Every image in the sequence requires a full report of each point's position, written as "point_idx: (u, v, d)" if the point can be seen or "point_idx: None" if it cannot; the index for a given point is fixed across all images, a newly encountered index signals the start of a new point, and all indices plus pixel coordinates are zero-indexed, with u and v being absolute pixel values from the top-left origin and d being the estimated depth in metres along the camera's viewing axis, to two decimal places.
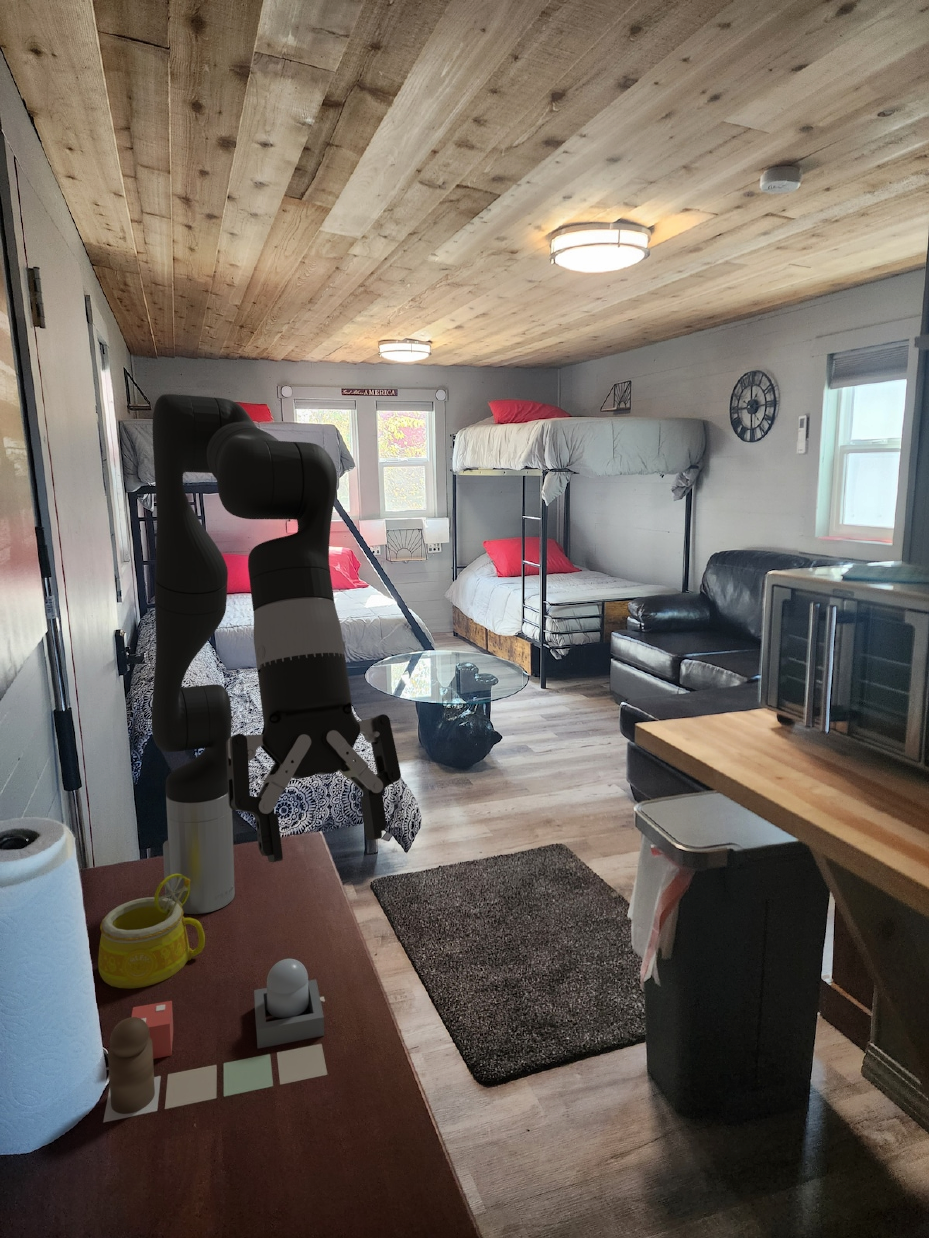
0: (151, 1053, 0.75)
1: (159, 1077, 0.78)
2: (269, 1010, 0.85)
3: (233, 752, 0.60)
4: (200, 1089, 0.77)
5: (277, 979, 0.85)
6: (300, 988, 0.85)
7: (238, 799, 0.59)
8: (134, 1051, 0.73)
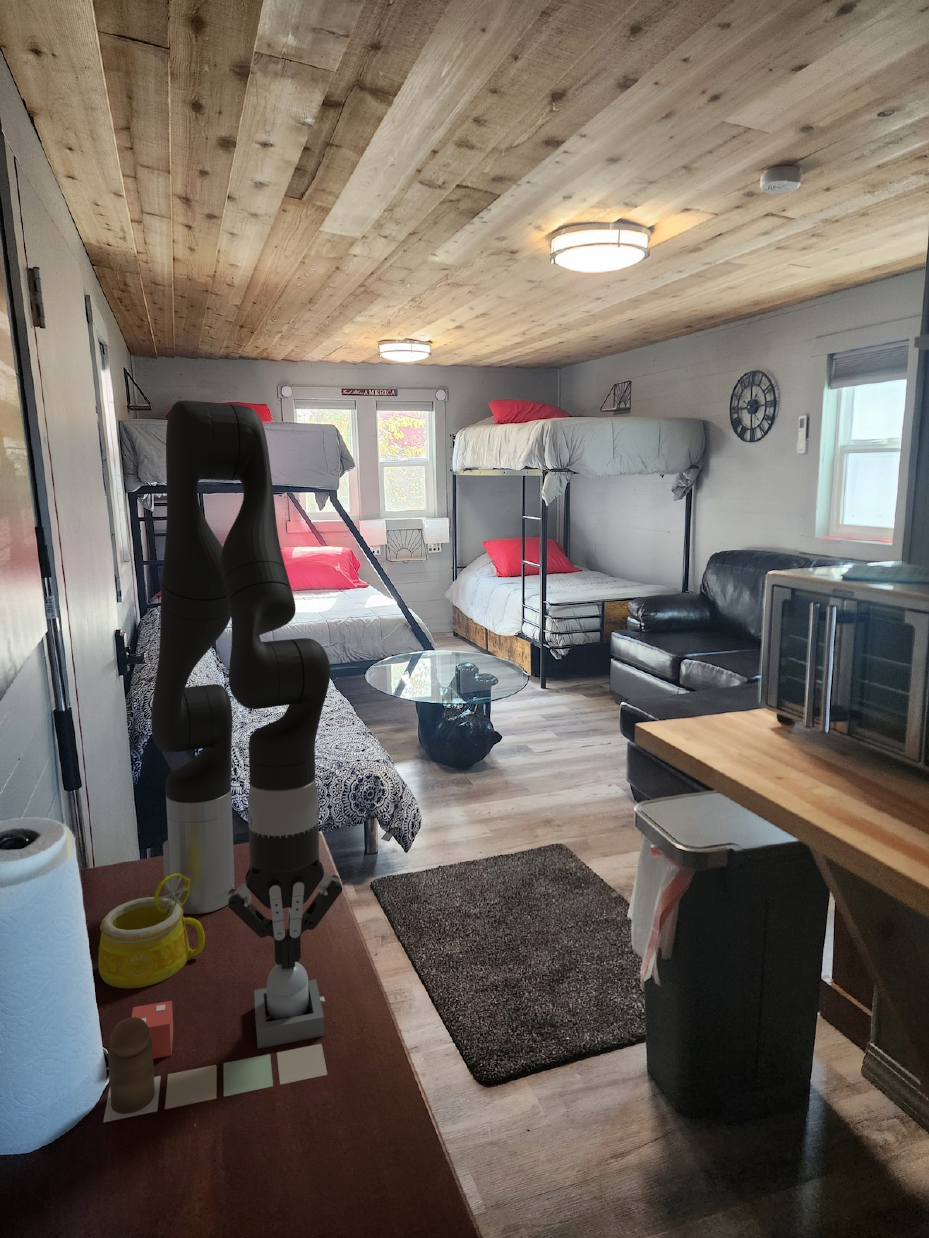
0: (151, 1053, 0.75)
1: (159, 1077, 0.78)
2: (269, 1012, 0.85)
3: (235, 912, 0.82)
4: (200, 1089, 0.77)
5: (277, 981, 0.85)
6: (300, 990, 0.85)
7: (259, 933, 0.83)
8: (134, 1050, 0.73)
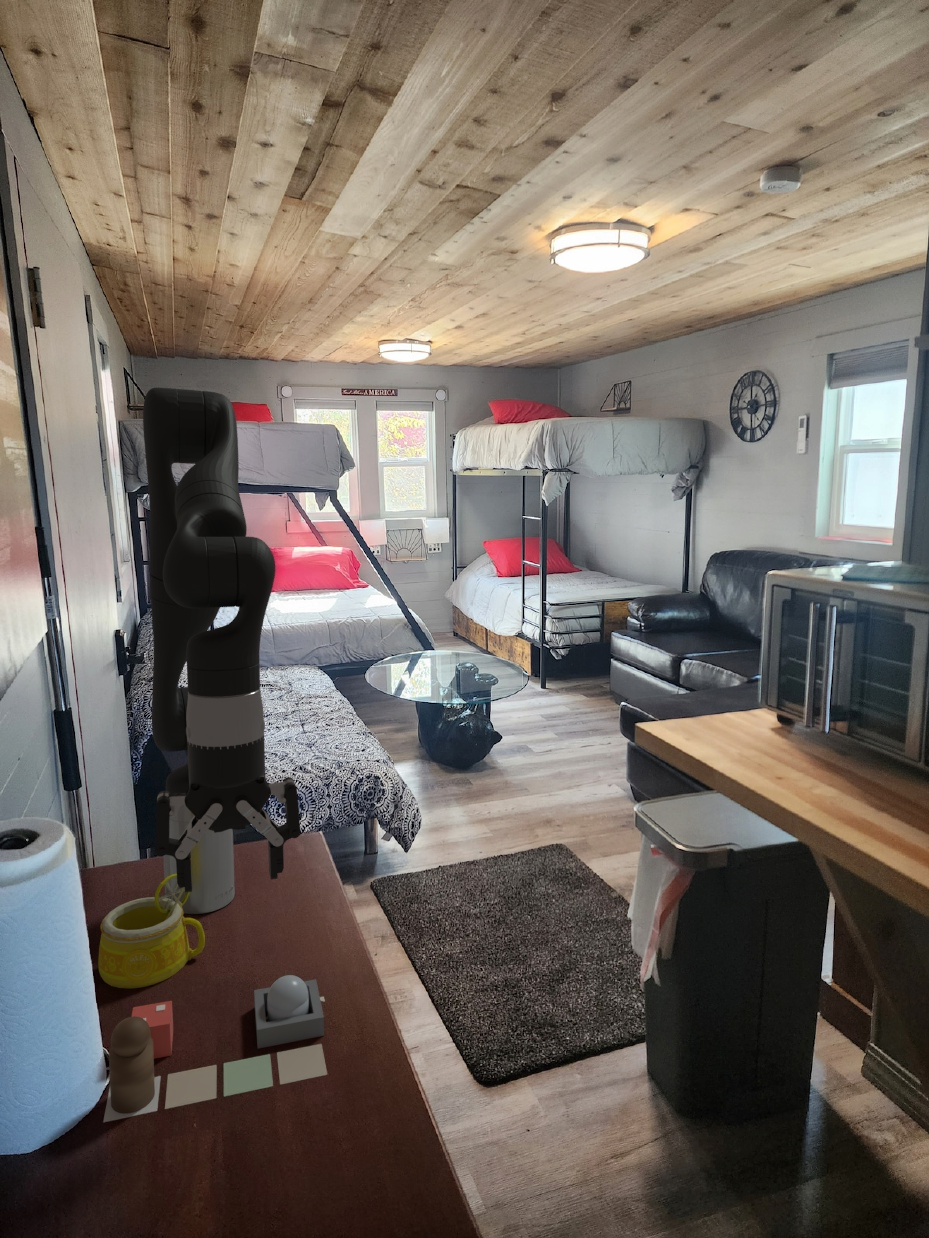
0: (152, 1053, 0.75)
1: (159, 1077, 0.78)
2: None
3: (157, 812, 0.75)
4: (200, 1089, 0.77)
5: (277, 996, 0.85)
6: (300, 1005, 0.85)
7: (158, 848, 0.76)
8: (135, 1050, 0.73)
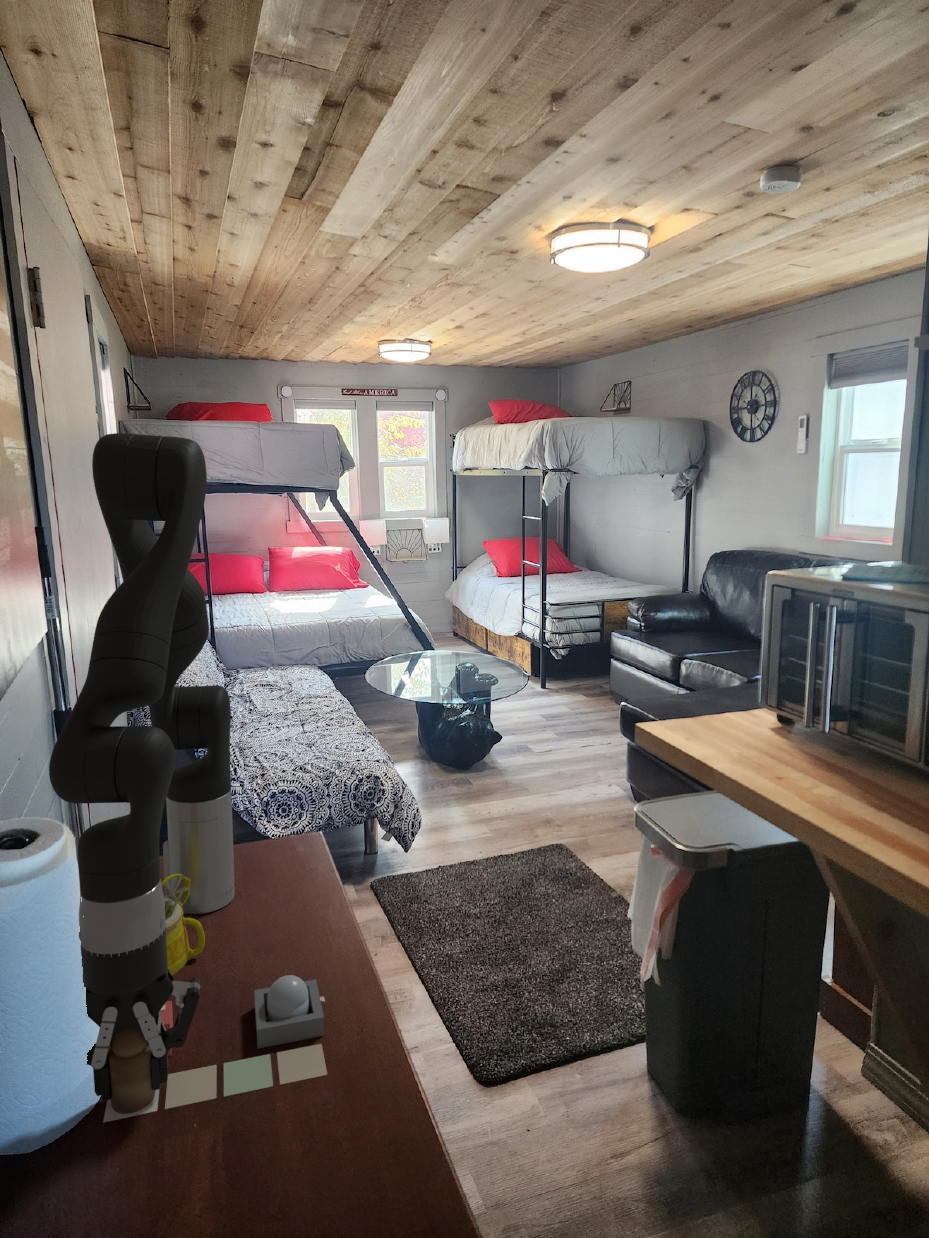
0: (151, 1054, 0.75)
1: None
2: None
3: None
4: (200, 1089, 0.77)
5: (277, 996, 0.85)
6: (300, 1005, 0.85)
7: None
8: (134, 1051, 0.73)
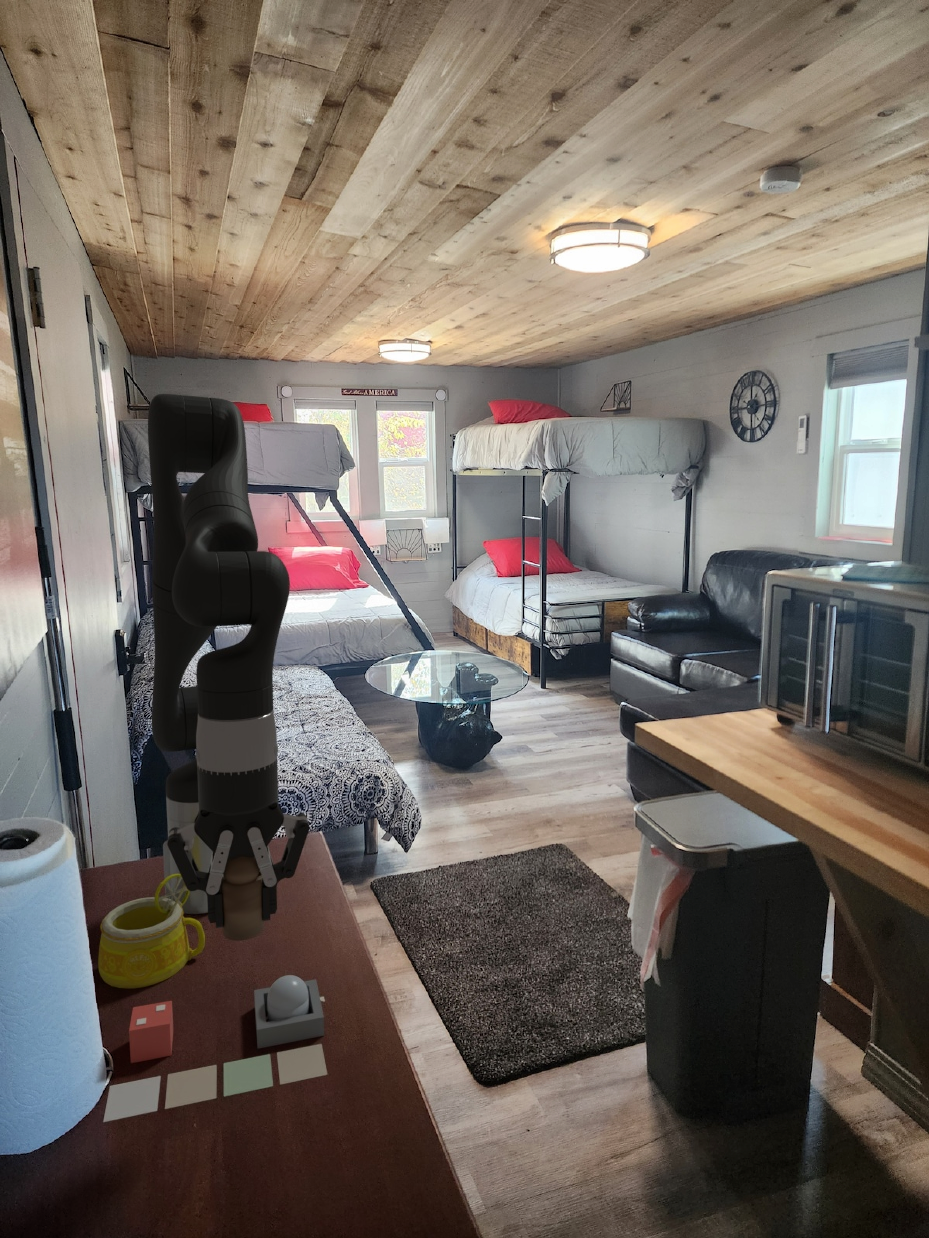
0: (262, 885, 0.76)
1: (159, 1077, 0.78)
2: None
3: (172, 853, 0.72)
4: (200, 1089, 0.77)
5: (277, 996, 0.85)
6: (300, 1005, 0.85)
7: (188, 884, 0.73)
8: (247, 878, 0.74)
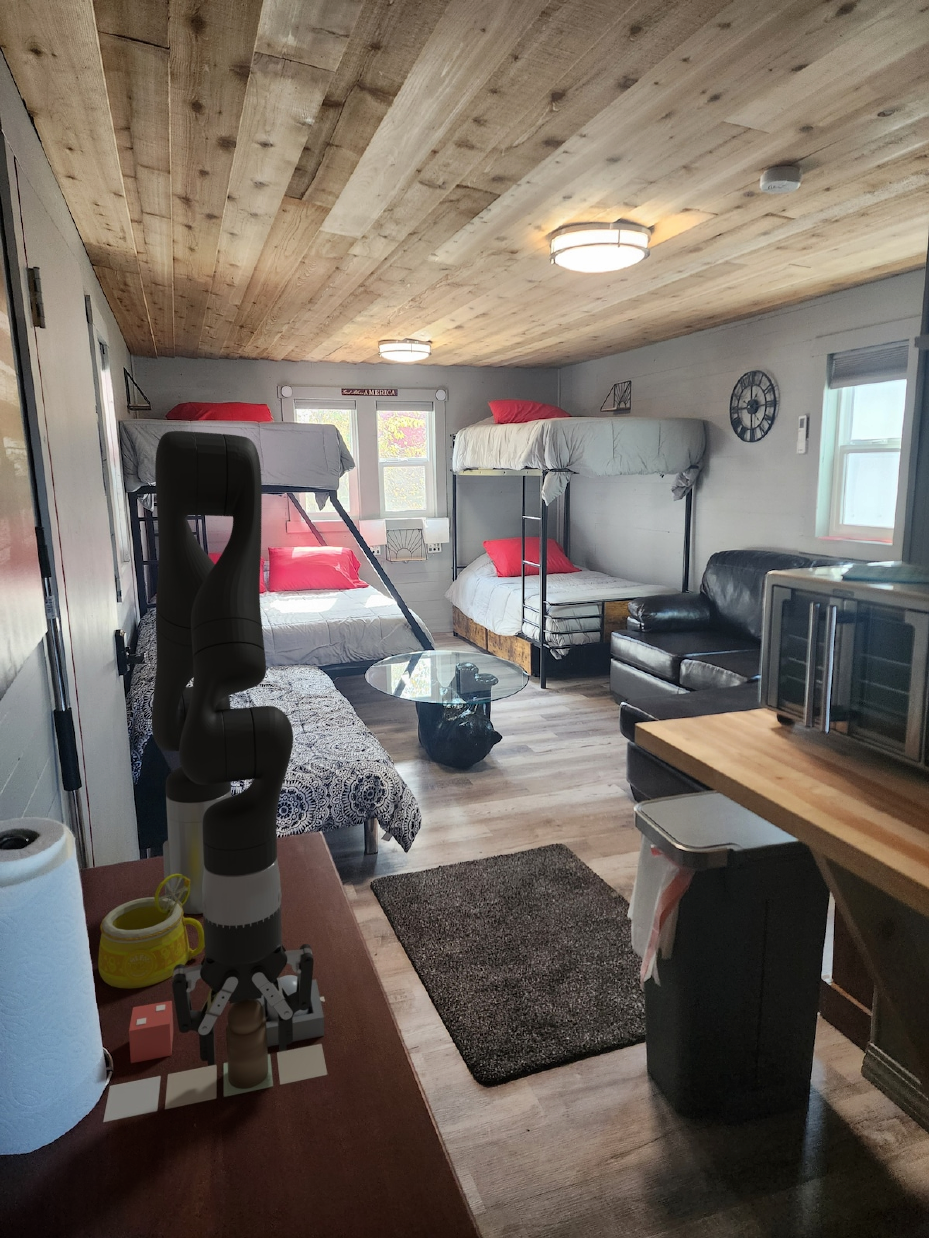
0: (265, 1031, 0.78)
1: (159, 1077, 0.78)
2: None
3: (174, 992, 0.74)
4: (200, 1089, 0.77)
5: None
6: None
7: (181, 1026, 0.75)
8: (252, 1028, 0.77)
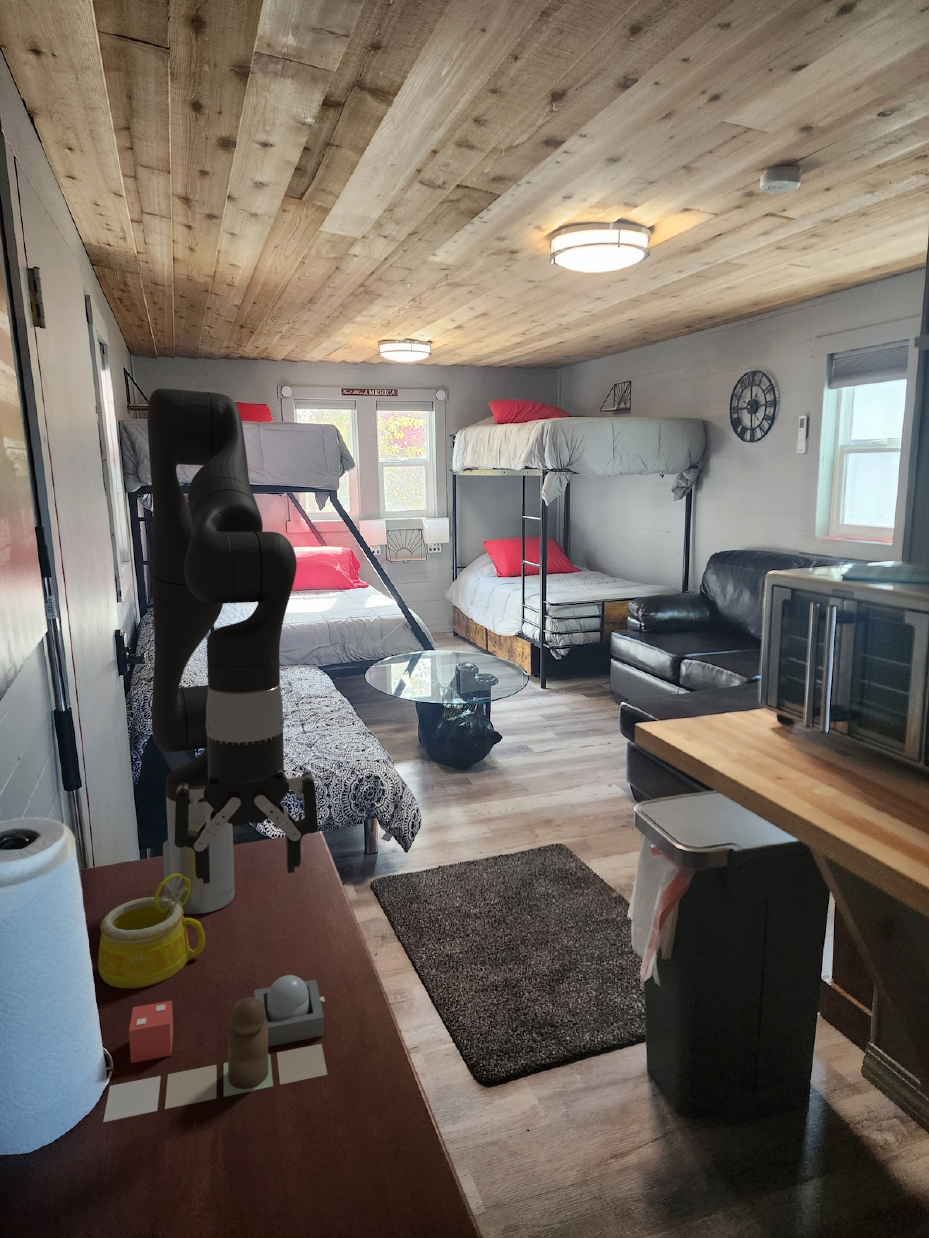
0: (267, 1032, 0.78)
1: (159, 1077, 0.78)
2: None
3: (176, 805, 0.76)
4: (200, 1089, 0.77)
5: (277, 996, 0.85)
6: (300, 1005, 0.85)
7: (177, 840, 0.76)
8: (254, 1029, 0.76)
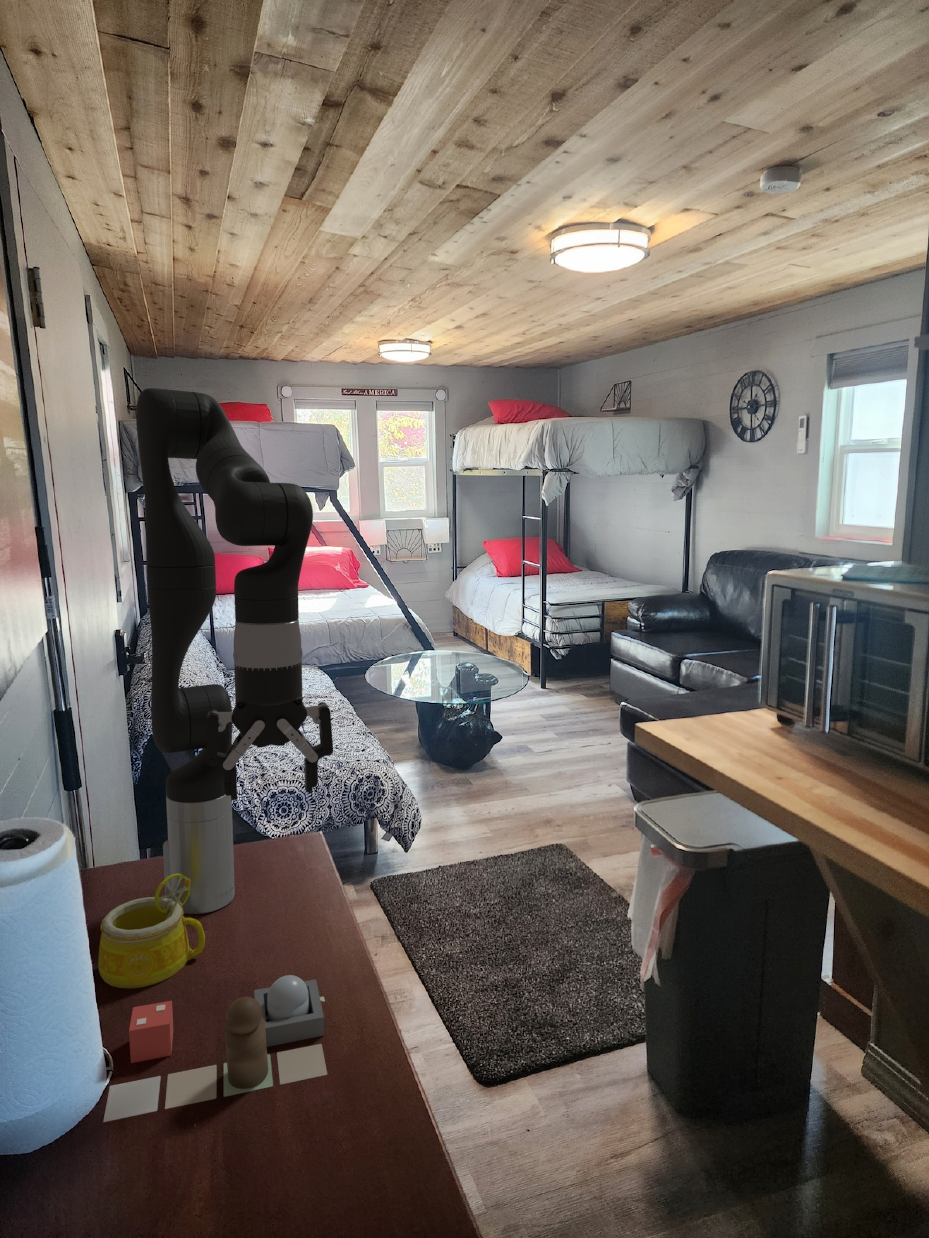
0: (264, 1030, 0.78)
1: (159, 1077, 0.78)
2: None
3: (207, 727, 0.85)
4: (200, 1089, 0.77)
5: (277, 996, 0.85)
6: (300, 1005, 0.85)
7: (208, 759, 0.85)
8: (251, 1028, 0.77)
